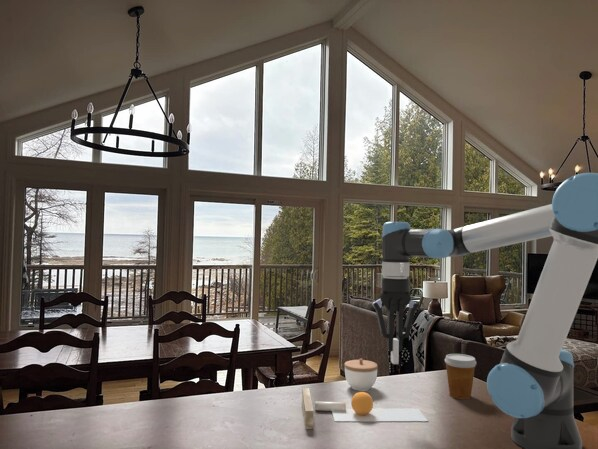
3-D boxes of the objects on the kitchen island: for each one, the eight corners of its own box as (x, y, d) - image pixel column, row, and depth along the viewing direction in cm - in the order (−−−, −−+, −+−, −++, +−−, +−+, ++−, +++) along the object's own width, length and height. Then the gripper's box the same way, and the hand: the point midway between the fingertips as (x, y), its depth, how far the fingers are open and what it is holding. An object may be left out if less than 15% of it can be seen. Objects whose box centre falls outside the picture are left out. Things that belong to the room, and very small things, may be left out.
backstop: (308, 403, 136) (308, 387, 136) (313, 428, 118) (313, 410, 119) (301, 403, 136) (302, 387, 136) (305, 428, 118) (305, 410, 118)
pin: (345, 412, 131) (315, 411, 132) (345, 403, 133) (315, 402, 133) (345, 410, 129) (315, 409, 130) (345, 401, 131) (315, 400, 131)
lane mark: (417, 409, 133) (417, 408, 133) (427, 421, 124) (427, 420, 124) (330, 409, 132) (331, 408, 132) (334, 421, 123) (334, 420, 123)
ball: (343, 401, 129) (354, 420, 129) (357, 398, 125) (368, 418, 124) (355, 389, 133) (366, 408, 133) (369, 386, 129) (381, 405, 128)
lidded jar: (376, 394, 145) (377, 364, 145) (342, 391, 147) (342, 362, 148) (377, 384, 156) (378, 355, 156) (345, 381, 158) (346, 353, 158)
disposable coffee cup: (444, 399, 142) (444, 359, 142) (444, 389, 151) (444, 352, 151) (477, 402, 139) (477, 362, 140) (475, 392, 148) (475, 354, 149)
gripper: (414, 276, 133) (413, 359, 133) (369, 275, 133) (368, 359, 132) (422, 278, 126) (422, 366, 125) (375, 278, 125) (374, 366, 125)
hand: (394, 362), depth 129 cm, fingers closed
